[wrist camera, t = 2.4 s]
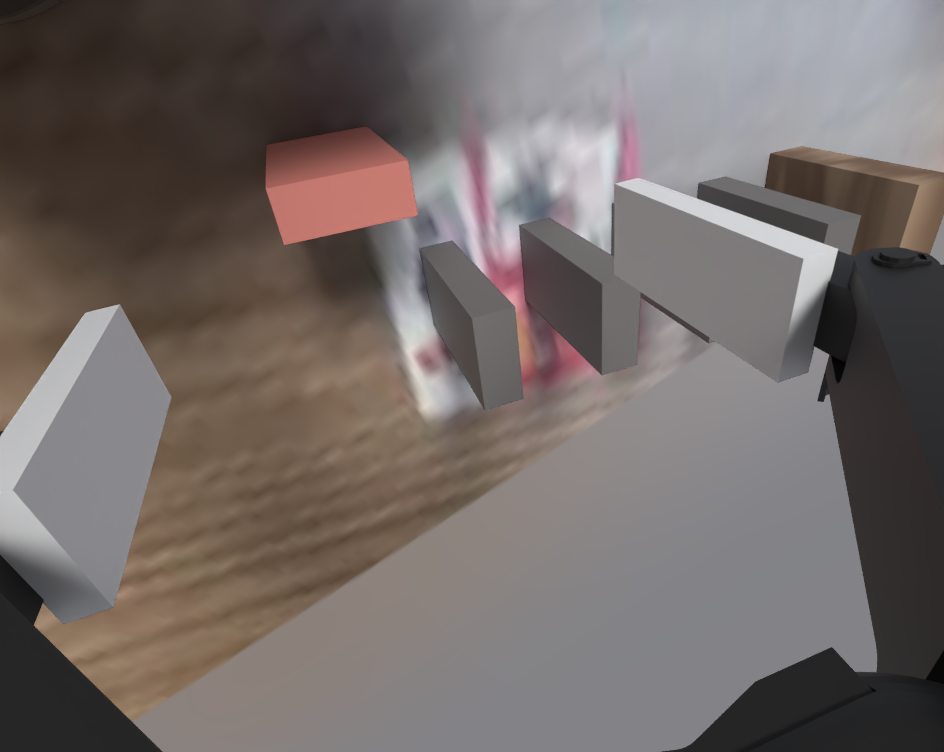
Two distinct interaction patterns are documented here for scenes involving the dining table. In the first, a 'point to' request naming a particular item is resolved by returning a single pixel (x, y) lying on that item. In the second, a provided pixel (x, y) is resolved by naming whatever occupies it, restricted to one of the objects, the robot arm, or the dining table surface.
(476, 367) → the domino
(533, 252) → the domino
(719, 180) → the domino
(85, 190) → the dining table surface
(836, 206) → the end stop
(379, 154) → the red domino
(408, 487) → the dining table surface
